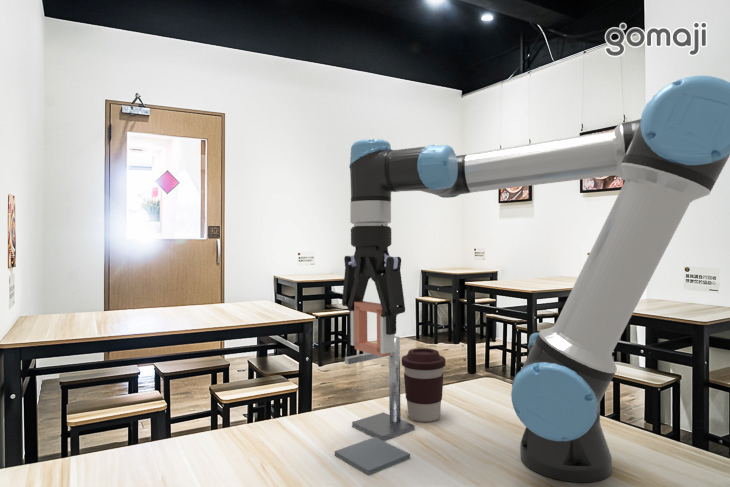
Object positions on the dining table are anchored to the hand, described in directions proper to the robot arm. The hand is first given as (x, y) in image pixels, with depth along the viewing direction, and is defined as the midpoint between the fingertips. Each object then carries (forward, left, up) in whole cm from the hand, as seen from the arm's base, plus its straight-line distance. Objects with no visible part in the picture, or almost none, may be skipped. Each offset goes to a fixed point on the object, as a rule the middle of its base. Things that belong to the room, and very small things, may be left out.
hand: (372, 348), depth 88 cm
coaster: (0, 0, -20) cm, 20 cm away
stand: (+9, -8, -20) cm, 24 cm away
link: (0, 0, -1) cm, 1 cm away
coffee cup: (+8, -22, -21) cm, 31 cm away
